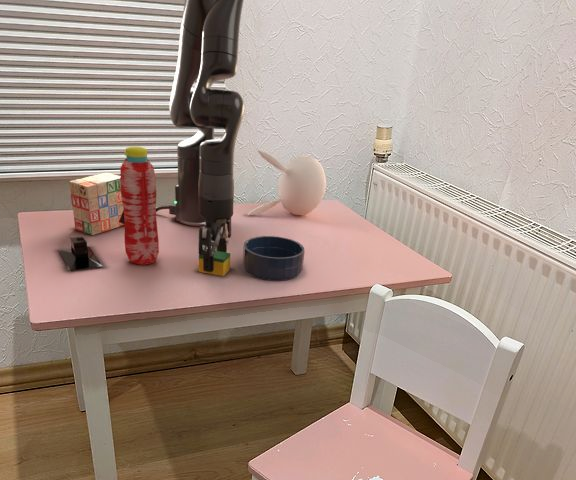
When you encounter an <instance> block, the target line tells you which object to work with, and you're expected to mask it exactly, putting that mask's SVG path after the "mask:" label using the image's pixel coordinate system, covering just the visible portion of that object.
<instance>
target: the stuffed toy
mask: <svg viewBox="0 0 576 480" xmlns="http://www.w3.org/2000/svg"><path fill="white" fill-rule="evenodd" d="M257 152H258V153H259V155H260V157H261V158H263V159H264V160H265V161H266V162H267V163H269V164H270V165H271V166H273V167H274V168H276V169H277V170H279V171H281V174H280V175H279V178H278V179H279V180H278V186H277V193H278V197H279V199H274V200H270V201H268V202H265V203H263V204H262V205H259V206H257V207H255V208H252V210H250V211H249V212H248V213H247V214H246V216H256V215H260V214H262V213H264V212H266V211H268V210H270V209H272V208H273V207H275V206H277V205H278V204H280V203H281V205H282V207H283V208H284V209H285V210H286V211H287V212H288V213H289V214H292V215H295V216H305V215H309V214H310V213H311V212H313V211H314V210H316V209H317V207H318V206H319V205H320V203H321V202H322V200H323V197H324V196H325V193H327V194H329V195H330V194H331V192H332V191H331V190H328V191H326V188H327V177H326V172H325V170H324V168H323V165H322V164H321V163H320V162H319V161H318V160H317V159H316V158H314V157H312V156H310V155H299V156H296V157H294V158H292V159H291V160H290V161H289V162H288V163H286V165H285V166H284V165H283V163H282V162H280V160H278V159H277V158H276V157H275V156H274V155H272V154H271V153H269V152H266V151H263V150H257Z"/></svg>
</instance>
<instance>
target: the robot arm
mask: <svg viewBox="0 0 576 480" xmlns="http://www.w3.org/2000/svg"><path fill="white" fill-rule="evenodd" d="M243 6H244V0H184V4H183V11H182V17H181V24H180V32H179V33H180V34H179V46H178V57H177V64H176V69H175V75H174V80H173V85H172V89H171V94H170V101H169V115H170V120H171V122H172V124H173V125H174V126H175V127H177V128H180V129H198V130H197V132H196V133H195V134H194V135H193V136H191V137H189V138H187V139H184V140H182V141H180V142H179V143H178V144H177V148H176V152H177V153H176V155H177V184H175V187H174V196H175V200H174V201H173V202H172V203H170V204H169V205H162V206H158V207H156V213H157V212H159V211H161V210H169V211H168V213H169V215H172V216H175V222H179V223H181V224H183V225H186V226H191V227H192V226H193V227H199V228H198V252H197V253H198V256H199V255H202V256H203V270H204V271H205V272H213V270H214V252H215V251H221V252H226V253H228V243H229V239H231V237H232V217H233V215H234V203H235V202H234V201H235V198H234V197H235V180H234V179H235V178H234V162H235V161H234V159H235V147H236V142H237V138H238V134H239V131H240V127H241V124H242V121H243V118H244V114H245V102H244V99H243V97H242V96H241V94H240V93H239V92H237V91H235V90H229V89H225V90H224V89H216V88H211V87H212V86H213V85H214V84H215V83H216V82H219V81H223V80H229V79H233V78H234V77H235V76H236V75H237V73H238V72H237V71H238V59H239V45H240V44H239V40H240V26H241V20H242V19H241V18H242V12H243ZM195 82H196V84H195ZM194 85H195V87H193V86H194ZM215 129H217V130H218V129H220V130H224V131H225V132H224V135H222V136H221V137H217V138H215ZM206 249H207V250H206Z"/></svg>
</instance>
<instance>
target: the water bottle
mask: <svg viewBox="0 0 576 480" xmlns="http://www.w3.org/2000/svg"><path fill="white" fill-rule="evenodd" d="M124 155H125V157H126V158H125V159H124V160H123V162H122V164H121V166H120V169H119V171H120V172H119V173H120V175H119V176H120V185H121V196H122V202H123V208H124V210H123V213H122V215H121V217H120V220H119V222H120V223H122V224H125V225H124V249H125V255H126V256H127V258H128V260H129V262H130V263H132V264H136V265H140V266H144V265H146V266H147V265H151V264H153V263H154V262H156V261H157V258H158V256H159V253H160V245H159V232H158V223H157V212H156V208H157V180H156V173H155V168H154V165H153V164H152V163H151V161H150V159H148V149H147V148H146V147H142V146H128V147H126V148H125V152H124Z"/></svg>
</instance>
